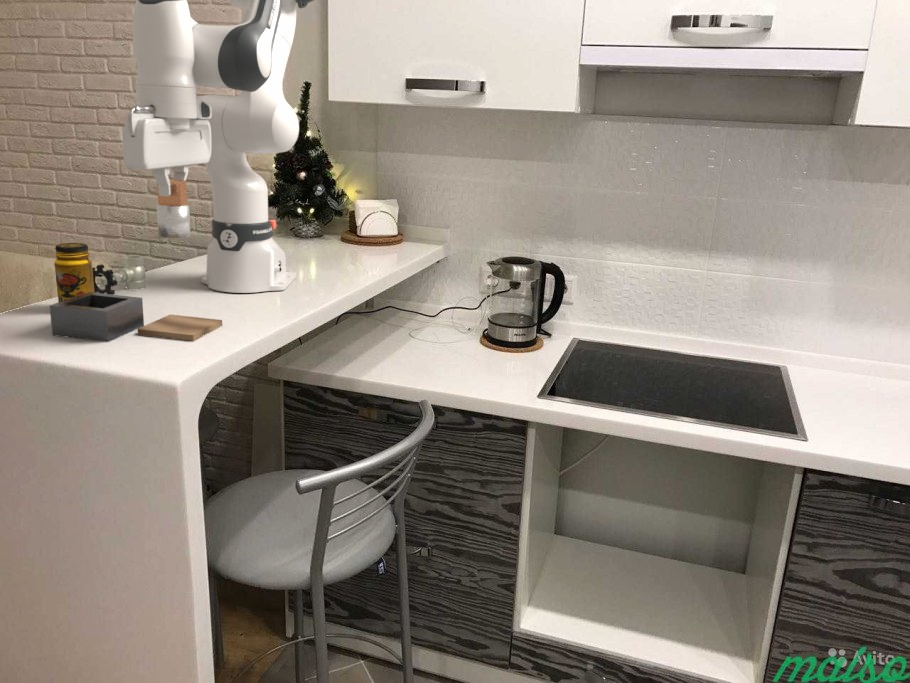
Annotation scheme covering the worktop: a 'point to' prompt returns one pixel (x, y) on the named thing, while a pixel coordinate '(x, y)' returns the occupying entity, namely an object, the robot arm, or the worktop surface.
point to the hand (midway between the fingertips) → (172, 194)
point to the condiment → (73, 270)
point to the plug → (174, 212)
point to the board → (180, 327)
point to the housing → (97, 316)
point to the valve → (121, 275)
